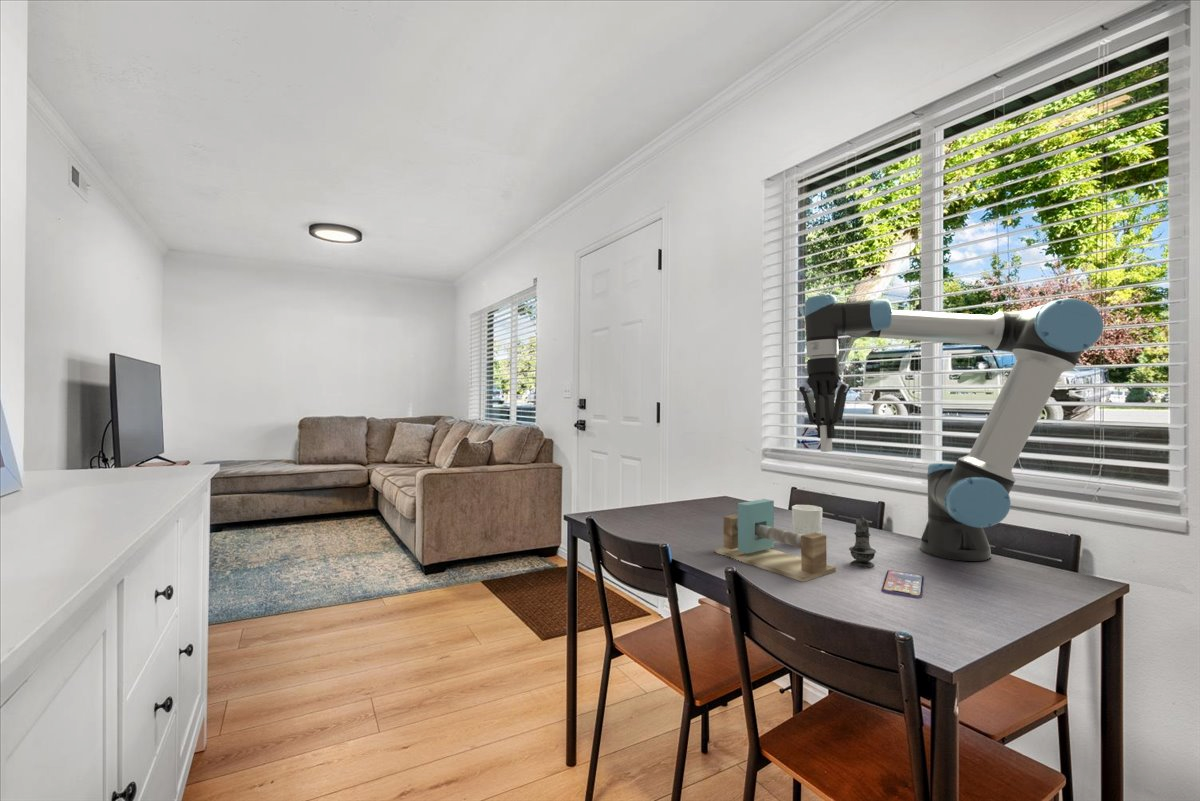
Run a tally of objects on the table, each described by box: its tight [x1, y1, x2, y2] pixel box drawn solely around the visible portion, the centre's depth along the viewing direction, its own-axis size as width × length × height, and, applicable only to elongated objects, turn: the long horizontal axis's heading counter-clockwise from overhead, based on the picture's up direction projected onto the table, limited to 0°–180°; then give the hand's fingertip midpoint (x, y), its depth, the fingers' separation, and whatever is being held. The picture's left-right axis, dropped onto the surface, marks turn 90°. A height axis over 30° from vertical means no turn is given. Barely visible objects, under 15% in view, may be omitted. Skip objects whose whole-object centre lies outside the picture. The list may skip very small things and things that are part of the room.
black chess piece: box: [848, 514, 877, 569], centre depth 131 cm, size 6×6×12 cm
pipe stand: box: [713, 513, 837, 583], centre depth 134 cm, size 27×12×9 cm, turn 33°
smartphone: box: [881, 569, 925, 599], centre depth 117 cm, size 1×7×15 cm
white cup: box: [791, 504, 823, 535], centre depth 149 cm, size 8×8×10 cm
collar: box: [737, 498, 775, 554], centre depth 138 cm, size 3×10×12 cm, turn 123°
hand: (826, 451), depth 137 cm, fingers closed
